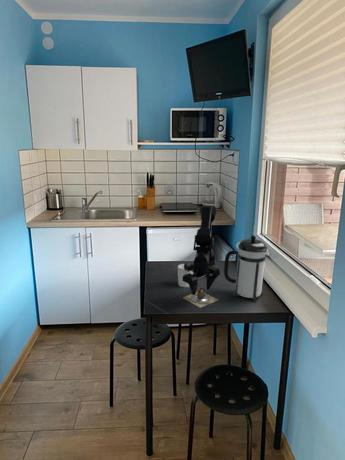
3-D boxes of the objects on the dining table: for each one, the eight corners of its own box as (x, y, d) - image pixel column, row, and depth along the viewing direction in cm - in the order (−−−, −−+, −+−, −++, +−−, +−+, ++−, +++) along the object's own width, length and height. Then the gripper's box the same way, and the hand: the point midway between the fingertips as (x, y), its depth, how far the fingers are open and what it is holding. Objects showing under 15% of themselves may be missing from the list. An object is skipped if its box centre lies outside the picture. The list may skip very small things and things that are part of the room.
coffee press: (255, 287, 167) (260, 229, 159) (269, 302, 151) (276, 239, 143) (222, 289, 164) (226, 230, 156) (233, 304, 148) (238, 240, 140)
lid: (200, 292, 158) (200, 283, 157) (214, 299, 152) (214, 290, 151) (186, 297, 153) (187, 288, 151) (200, 305, 146) (201, 296, 145)
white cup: (191, 289, 163) (192, 270, 160) (175, 287, 164) (176, 268, 161) (193, 282, 170) (194, 264, 167) (178, 281, 172) (179, 263, 169)
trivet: (200, 291, 160) (200, 290, 160) (218, 300, 152) (218, 299, 152) (182, 298, 153) (182, 297, 153) (200, 308, 144) (200, 307, 144)
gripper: (204, 251, 159) (202, 281, 163) (174, 259, 147) (173, 291, 151) (221, 257, 151) (219, 289, 155) (192, 267, 139) (190, 300, 143)
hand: (200, 292), depth 151 cm, fingers open, 9 cm apart
